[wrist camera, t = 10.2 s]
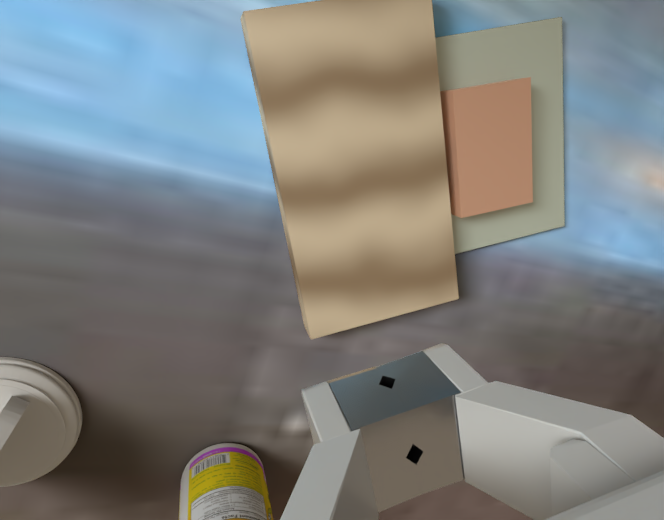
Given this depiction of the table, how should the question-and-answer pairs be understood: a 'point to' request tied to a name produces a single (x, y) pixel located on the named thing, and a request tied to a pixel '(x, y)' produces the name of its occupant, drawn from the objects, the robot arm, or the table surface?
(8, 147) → the table surface
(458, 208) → the tile
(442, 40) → the mat
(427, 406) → the robot arm
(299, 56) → the beige flat block
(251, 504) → the supplement bottle
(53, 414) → the chess piece
